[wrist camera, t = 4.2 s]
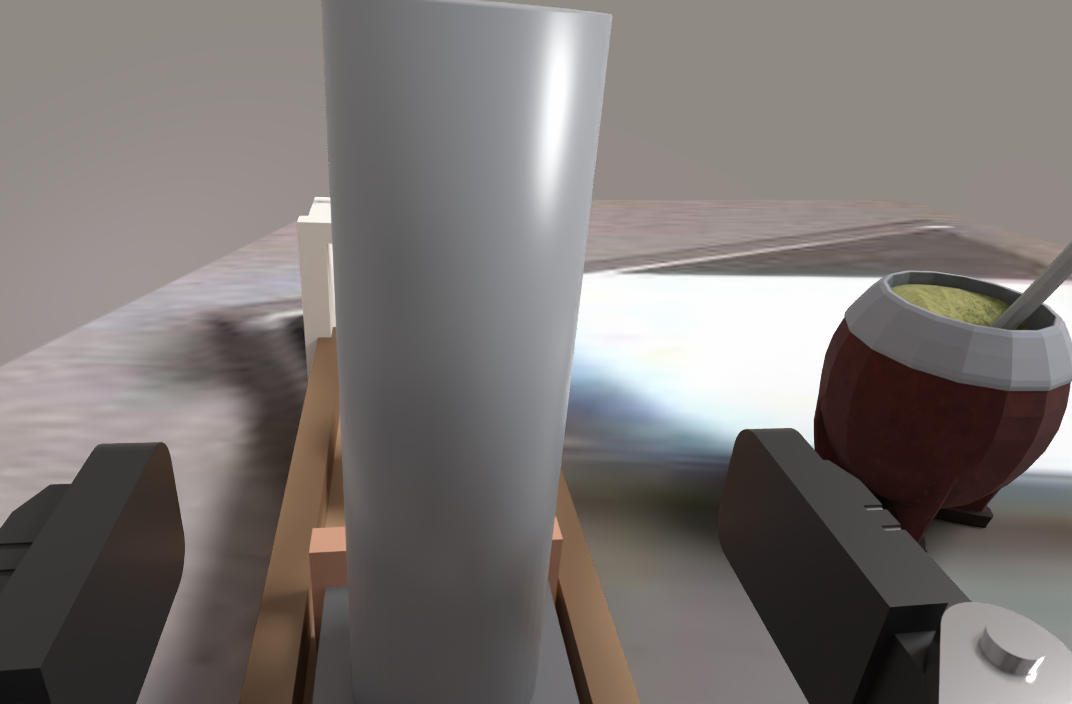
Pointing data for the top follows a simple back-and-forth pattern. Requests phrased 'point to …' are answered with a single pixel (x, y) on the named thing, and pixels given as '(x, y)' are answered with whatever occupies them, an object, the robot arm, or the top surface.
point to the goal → (316, 275)
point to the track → (318, 502)
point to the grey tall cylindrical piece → (453, 342)
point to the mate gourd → (944, 391)
